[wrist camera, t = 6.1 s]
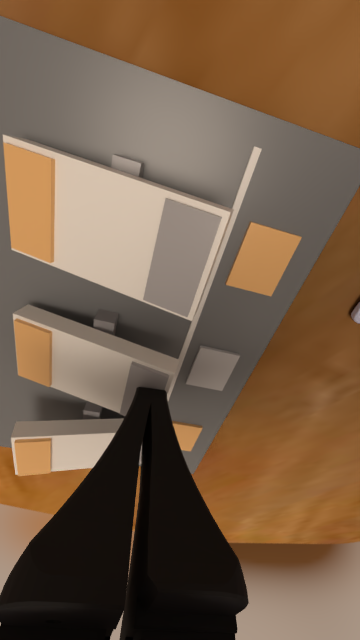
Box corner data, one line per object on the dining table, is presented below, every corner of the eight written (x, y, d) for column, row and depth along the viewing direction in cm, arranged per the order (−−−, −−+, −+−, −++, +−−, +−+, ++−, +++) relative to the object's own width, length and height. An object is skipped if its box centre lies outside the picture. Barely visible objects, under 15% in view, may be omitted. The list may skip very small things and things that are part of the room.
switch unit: (361, 155, 11) (396, 154, 9) (192, 462, 23) (193, 486, 21) (-65, -1, 8) (-127, -41, 7) (2, 433, 21) (-13, 458, 19)
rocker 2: (179, 359, 12) (174, 376, 11) (160, 412, 14) (154, 430, 13) (28, 304, 13) (9, 315, 12) (31, 362, 15) (15, 376, 14)
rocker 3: (151, 417, 17) (153, 433, 16) (140, 450, 20) (142, 466, 19) (16, 421, 15) (9, 441, 14) (20, 458, 17) (14, 478, 16)
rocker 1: (234, 209, 8) (230, 213, 7) (197, 310, 11) (190, 323, 10) (26, 138, 9) (-3, 133, 8) (30, 244, 11) (7, 250, 10)
